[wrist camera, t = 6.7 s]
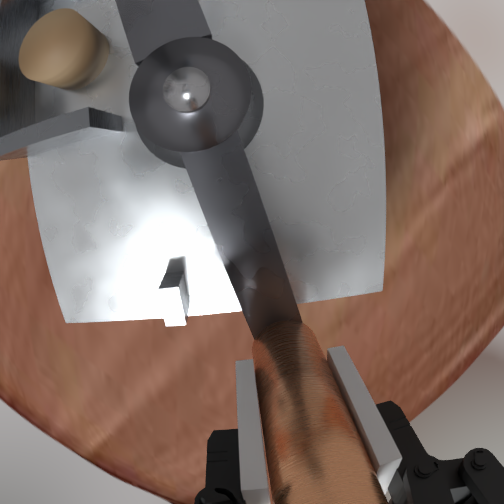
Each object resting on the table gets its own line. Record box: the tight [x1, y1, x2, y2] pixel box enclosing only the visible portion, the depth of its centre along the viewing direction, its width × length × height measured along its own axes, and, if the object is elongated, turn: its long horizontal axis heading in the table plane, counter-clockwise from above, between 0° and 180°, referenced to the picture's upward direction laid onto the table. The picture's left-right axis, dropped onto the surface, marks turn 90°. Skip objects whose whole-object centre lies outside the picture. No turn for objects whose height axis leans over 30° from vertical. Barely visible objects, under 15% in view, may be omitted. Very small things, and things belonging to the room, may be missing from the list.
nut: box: [19, 8, 109, 90], centre depth 11 cm, size 4×4×3 cm
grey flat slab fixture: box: [0, 0, 386, 326], centre depth 13 cm, size 20×19×6 cm
